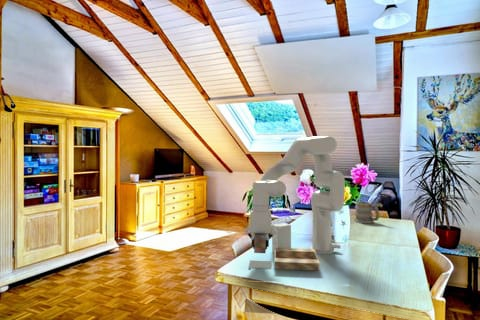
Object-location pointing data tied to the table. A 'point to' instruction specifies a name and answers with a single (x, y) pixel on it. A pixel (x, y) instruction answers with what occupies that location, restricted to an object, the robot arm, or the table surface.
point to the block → (260, 243)
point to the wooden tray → (295, 259)
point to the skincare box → (281, 236)
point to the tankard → (366, 212)
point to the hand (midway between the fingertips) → (260, 247)
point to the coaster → (260, 264)
